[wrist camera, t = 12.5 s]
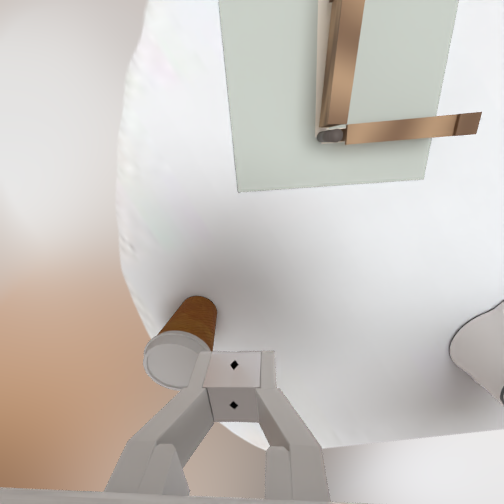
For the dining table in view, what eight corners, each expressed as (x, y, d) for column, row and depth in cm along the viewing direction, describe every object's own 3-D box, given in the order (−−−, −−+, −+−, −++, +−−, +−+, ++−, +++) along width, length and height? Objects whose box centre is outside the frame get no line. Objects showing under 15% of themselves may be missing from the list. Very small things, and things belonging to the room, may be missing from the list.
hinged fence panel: (331, 127, 29) (346, 124, 23) (316, 127, 29) (327, 124, 23) (350, -23, 24) (375, -75, 18) (331, -23, 24) (350, -74, 18)
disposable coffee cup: (231, 329, 44) (218, 391, 33) (180, 333, 45) (152, 394, 35) (219, 284, 40) (201, 337, 30) (165, 290, 42) (128, 343, 31)
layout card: (463, -35, 24) (466, -39, 23) (421, 178, 32) (423, 179, 31) (219, 0, 26) (218, -3, 25) (238, 191, 34) (238, 192, 34)
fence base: (434, 118, 29) (485, 111, 22) (431, 135, 29) (479, 133, 23) (316, 129, 30) (330, 125, 23) (316, 145, 31) (329, 146, 24)
